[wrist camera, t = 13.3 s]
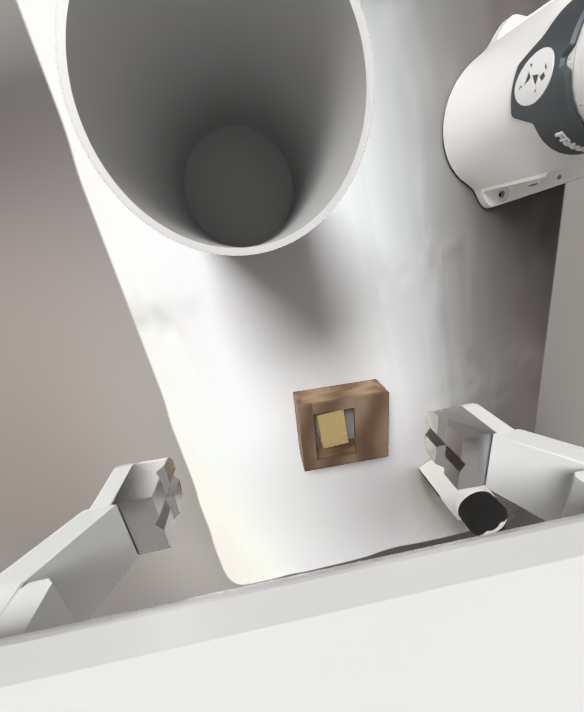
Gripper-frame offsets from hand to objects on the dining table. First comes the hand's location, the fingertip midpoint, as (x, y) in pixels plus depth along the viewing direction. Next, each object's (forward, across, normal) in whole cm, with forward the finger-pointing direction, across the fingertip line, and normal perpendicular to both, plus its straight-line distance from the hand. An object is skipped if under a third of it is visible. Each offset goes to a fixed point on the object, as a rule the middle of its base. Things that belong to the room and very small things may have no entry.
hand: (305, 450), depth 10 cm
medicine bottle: (+33, -28, +36) cm, 56 cm away
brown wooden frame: (+32, -9, +21) cm, 40 cm away
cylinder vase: (+33, +1, -12) cm, 35 cm away
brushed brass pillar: (+33, -7, +21) cm, 39 cm away
